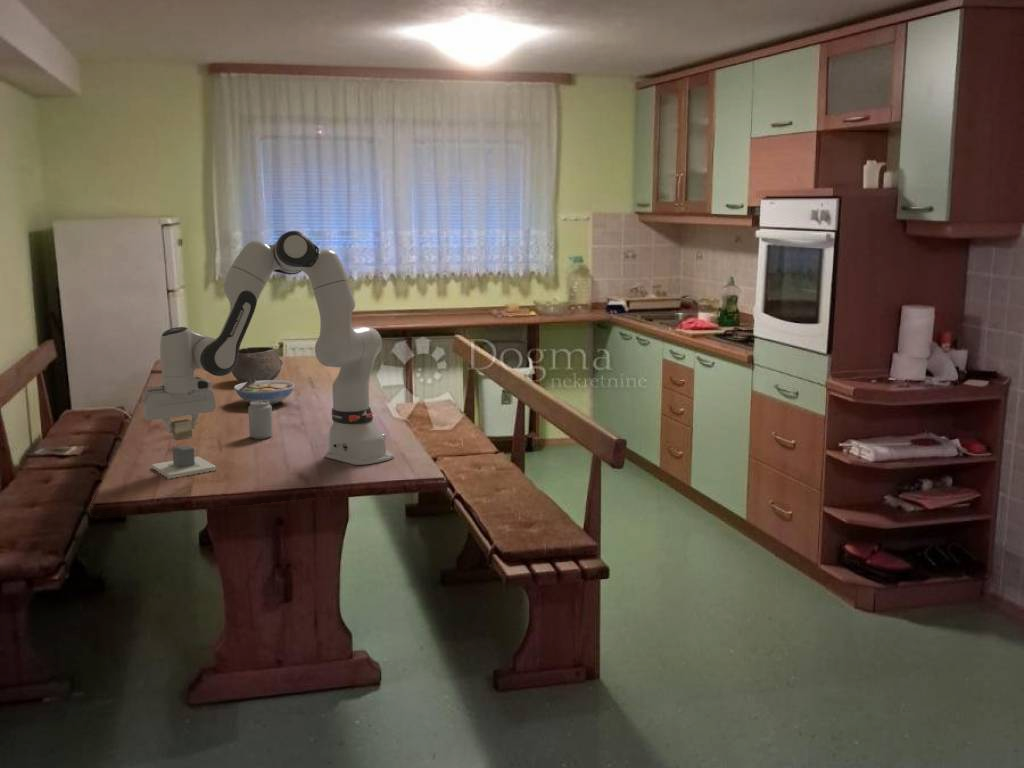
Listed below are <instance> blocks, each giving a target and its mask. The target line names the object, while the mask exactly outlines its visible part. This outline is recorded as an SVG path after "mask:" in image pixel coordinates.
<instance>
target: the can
mask: <svg viewBox="0 0 1024 768" xmlns="http://www.w3.org/2000/svg"><path fill="white" fill-rule="evenodd" d="M272 406H273V405H270V404H269V401H263V400H261V401H253V402H250V403H249V406H248V409H247V410H248V414H247V415H248V430H249V431H248V432H249V436H250V437H251V438H252V439H253V438H254V439H253V440H265V438H267V439H269V437H270V436H271V437H272V435H274V429H273V427H274V426H273V409H272ZM271 437H270V438H271Z"/></svg>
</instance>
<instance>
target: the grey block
mask: <svg viewBox="0 0 1024 768" xmlns="http://www.w3.org/2000/svg"><path fill="white" fill-rule="evenodd" d="M171 449H172V461H173V464H174V465H175V466H177V467H179V468H181V467H186V466H192V465H195V460H194V457H195V448H194V447H192V446H190V445H189V444H188V445H181V446H176V447H172V448H171Z"/></svg>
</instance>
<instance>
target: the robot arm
mask: <svg viewBox="0 0 1024 768" xmlns="http://www.w3.org/2000/svg"><path fill="white" fill-rule="evenodd" d="M273 272H274V273H280V274H283V275H289V276H290V275H298V274H300V273H301V272H303V273H305V274H306V275H307V277H308V278H309V280H310V284H311V288H312V290H313V295H314V298H315V301H316V305H317V309H318V312H319V318H320V319H319V320H320V330H319V336H318V339H317V340H316V342H315V344H314V355H315V357H316V360H317V361H318V362H319V363H320V364H321V365H323V366H325V367H330V368H340V369H339V372H338V375H337V376H336V377H335V379H334V381H333V383H332V409H331V420H332V425H331V427H329V431H328V445H327V446H328V447H327V450H328V451H326V452H324V457H325V458H328V459H331V460H332V459H333V460H336V461H339V462H343V463H347V464H349V465H353V466H354V465H355V466H360V465H369V464H370V465H371V464H376V463H377V464H378V463H381V462H385V461H390V460H392V459H394V458H395V456H394V453H392V452H391V451H389V450H388V449H387V448H386V447H387V446H386V434H385V433H381V431H380V430H379V428H378V427H377V425H376V424H375V422H374V421H373V420H374V418H373V417H374V416H373V415H374V412H373V411H372V409H371V407H370V379H371V374H372V369H373V366H374V362H375V360H376V358H377V357H378V355H379V354H380V352H381V350H382V347H383V339H382V336H381V335H380V333H379V331H378V330H377V329H375V328H374V327H370V326H364V325H359V326H352V325H353V324H352V314H353V311H354V309H355V307H356V301H355V298H354V295H353V291H352V288H351V285H350V282H349V279H348V275H347V273H346V270H345V268H344V265H343V264H342V261H341V259H340V258H339V256H338V254H337V253H336V252H335V251H334V250H332V249H320V248H319V247H318V246H317V245H316V244H315V243H314V242H313V241H312V240H311V239H310V238H309V237H308V236H307V235H306V234H305V233H303V232H302V231H298V230H291V231H290V230H289V231H287V232H285V233H283V234H281V235H280V236H279V237H278V240H277V241H276V242H275V244H268V243H266V242H264V241H261V240H260V241H259V240H252V241H249V242H248V243H247V244H246V245H245V246H244V247H243V248H242V249H241V250H240V252H239V253H238V255H237V256H236V258H235V259H234V261H233V262H232V265H231V266H230V268H229V269H228V271H227V274H226V275H225V278H224V282H223V285H222V288H223V293H224V294H225V297H226V298H227V300H228V302H229V306H230V308H229V309H230V310H229V313H228V316H227V318H226V320H225V322H224V324H223V327H222V328H221V331H220V332H219V335H218V336H217V337H216V338H214V337H211V336H207V335H203V334H199V333H197V332H195V331H193V330H191V329H190V328H189V327H186V326H180V327H172V328H169V329H167V330H165V331H164V332H162V334H161V336H160V341H159V342H160V343H159V344H160V345H159V351H160V354H159V355H160V358H159V359H160V362H161V366H162V369H161V385H159V386H154V387H151V386H150V387H147V388H146V389H145V390H143V391H142V393H141V397H142V402H143V408H142V415H143V418H145V419H146V420H148V421H154V420H162V422H163V423H164V425H165V426H166V431H167V433H169V434H171V433H172V432H174V426H172V425H170V421H171V418H177V417H185V416H186V417H187V416H190V417H191V420H190V421H191V424H192V430H196V423H197V421H198V419H199V414H207V413H213V412H215V410H216V408H217V406H216V405H217V403H216V397H215V392H214V391H213V389H211V388H212V382H211V381H210V380H208V379H205V378H202V377H199V376H195V370H197V369H200V370H202V371H205V372H207V373H209V374H211V375H212V376H215V377H224V376H227V375H228V374H230V373H232V370H233V369H234V368H235V367H236V365H237V362H238V357H239V349H241V344H242V342H243V339H244V338H245V334H246V333H247V330H248V328H249V325H250V323H251V321H252V318H253V316H254V315H255V314H254V313H255V311H256V307H257V304H258V301H259V298H260V295H261V294H262V291H263V290H264V288H265V285H266V284H267V282H268V280H269V278H270V277H271V275H272V274H273Z"/></svg>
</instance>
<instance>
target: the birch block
mask: <svg viewBox="0 0 1024 768" xmlns="http://www.w3.org/2000/svg"><path fill="white" fill-rule="evenodd" d="M169 424H170V425H172V426H174V432H172V433H170V437H171V438H172V439H173V440H175V441H182V440H190V439H193V429H192V424H191V420H189V419H188V418H178V419H173V420H171V419H170V421H169Z"/></svg>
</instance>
